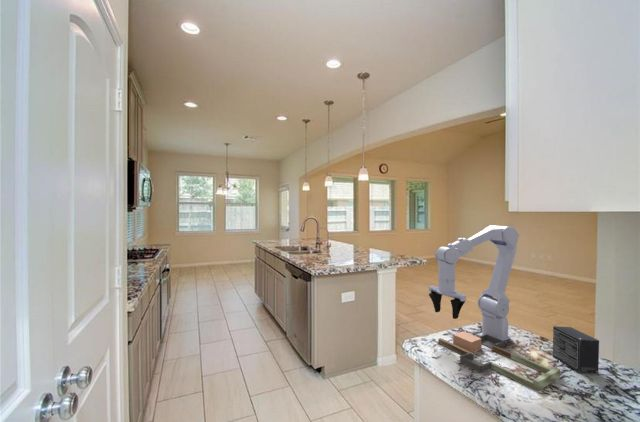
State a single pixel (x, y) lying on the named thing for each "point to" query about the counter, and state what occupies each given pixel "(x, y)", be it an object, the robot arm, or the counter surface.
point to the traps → (477, 365)
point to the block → (467, 341)
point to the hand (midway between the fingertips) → (446, 314)
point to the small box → (576, 349)
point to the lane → (536, 384)
